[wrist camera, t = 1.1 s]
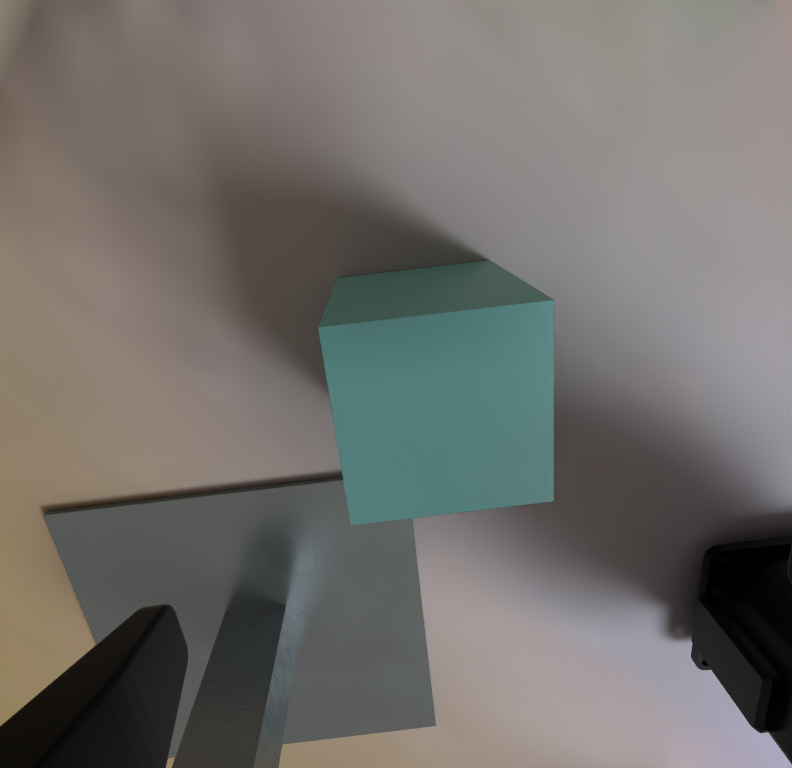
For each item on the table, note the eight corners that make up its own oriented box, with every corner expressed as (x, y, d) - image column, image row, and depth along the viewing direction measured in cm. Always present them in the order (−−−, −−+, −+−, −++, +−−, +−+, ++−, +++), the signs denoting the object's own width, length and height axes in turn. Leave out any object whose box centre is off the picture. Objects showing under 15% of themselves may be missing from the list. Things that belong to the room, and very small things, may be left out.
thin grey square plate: (406, 468, 20) (423, 606, 14) (434, 719, 25) (458, 909, 19) (47, 511, 20) (-111, 669, 14) (147, 754, 25) (68, 957, 19)
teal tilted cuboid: (489, 260, 18) (554, 299, 11) (495, 401, 19) (553, 501, 13) (336, 278, 18) (318, 327, 11) (357, 417, 19) (350, 525, 13)
